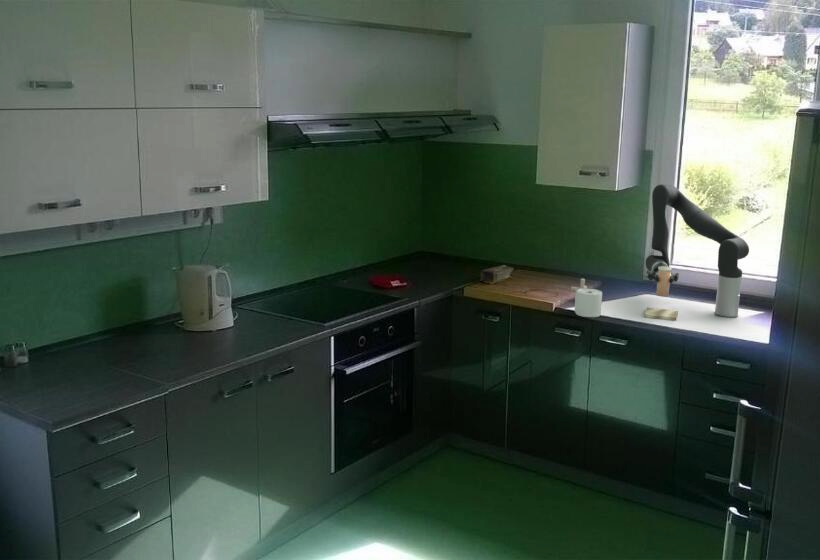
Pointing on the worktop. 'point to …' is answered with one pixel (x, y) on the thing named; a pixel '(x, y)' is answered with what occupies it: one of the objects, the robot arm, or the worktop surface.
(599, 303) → the toilet tissue
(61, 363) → the worktop surface
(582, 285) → the pipe connector
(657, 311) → the birch board
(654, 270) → the robot arm
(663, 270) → the terracotta jar
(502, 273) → the beverage carton
